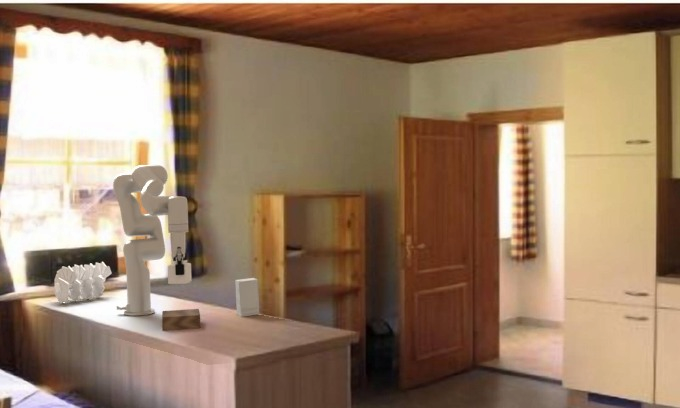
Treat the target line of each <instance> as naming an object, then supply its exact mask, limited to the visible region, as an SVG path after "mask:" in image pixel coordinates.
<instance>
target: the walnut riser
mask: <svg viewBox="0 0 680 408" xmlns="http://www.w3.org/2000/svg"><path fill="white" fill-rule="evenodd" d="M161 313H162V315H161V318H162V319H161V320H162V321H161V324H162V325H161V326H162V327H161V330H162V331H164V332H165V331H174V330H175V331H177V330H190V329H201V313H200V308H190V309H175V310H174V309H173V310H162V312H161Z"/></svg>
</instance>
